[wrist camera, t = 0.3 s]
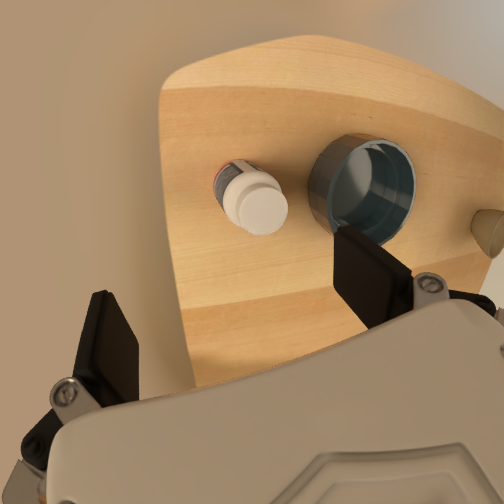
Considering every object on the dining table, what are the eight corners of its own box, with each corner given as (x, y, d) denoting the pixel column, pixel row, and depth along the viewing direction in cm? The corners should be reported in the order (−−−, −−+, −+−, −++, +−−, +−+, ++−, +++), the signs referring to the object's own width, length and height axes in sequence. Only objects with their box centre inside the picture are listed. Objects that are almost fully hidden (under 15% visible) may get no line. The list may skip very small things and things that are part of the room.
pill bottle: (214, 210, 30) (231, 248, 22) (210, 162, 27) (227, 183, 20) (262, 203, 31) (294, 237, 24) (261, 157, 29) (296, 176, 21)
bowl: (300, 139, 29) (323, 146, 25) (390, 130, 31) (417, 136, 27) (309, 243, 35) (328, 263, 31) (388, 220, 38) (411, 235, 33)
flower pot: (482, 190, 42) (509, 203, 36) (490, 216, 47) (513, 230, 40) (459, 227, 44) (486, 244, 38) (469, 251, 49) (492, 267, 43)
